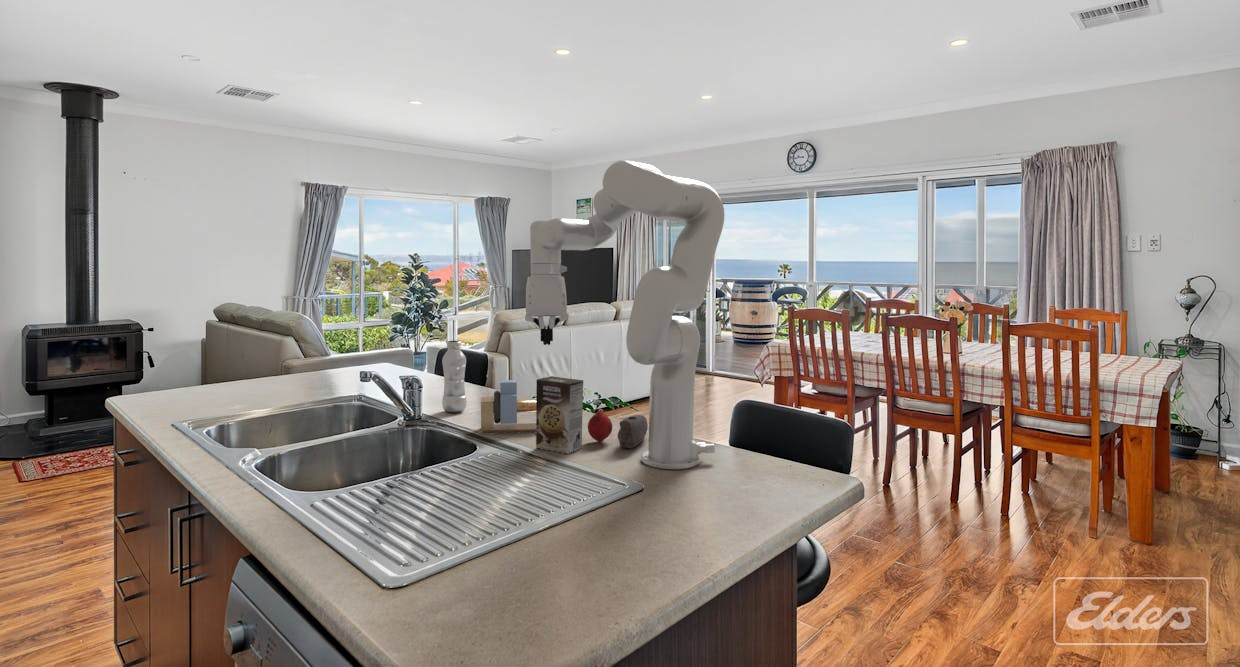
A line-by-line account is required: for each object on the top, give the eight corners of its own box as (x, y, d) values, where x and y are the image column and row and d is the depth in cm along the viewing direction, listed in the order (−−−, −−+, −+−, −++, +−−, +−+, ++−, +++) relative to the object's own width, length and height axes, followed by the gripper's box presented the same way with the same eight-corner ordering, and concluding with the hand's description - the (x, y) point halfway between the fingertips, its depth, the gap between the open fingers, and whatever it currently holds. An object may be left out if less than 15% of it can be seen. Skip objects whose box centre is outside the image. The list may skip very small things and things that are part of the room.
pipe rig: (548, 425, 176) (548, 395, 175) (550, 431, 170) (550, 400, 169) (481, 427, 173) (481, 397, 172) (481, 433, 167) (480, 402, 166)
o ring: (500, 418, 174) (500, 388, 173) (500, 425, 167) (500, 394, 166) (494, 418, 174) (494, 388, 173) (493, 426, 166) (493, 394, 165)
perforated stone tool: (634, 435, 168) (635, 407, 168) (654, 437, 167) (655, 409, 166) (612, 450, 154) (613, 420, 154) (634, 453, 153) (634, 423, 152)
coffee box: (534, 448, 155) (534, 379, 153) (550, 442, 160) (550, 375, 158) (568, 454, 150) (569, 383, 149) (583, 447, 156) (584, 379, 154)
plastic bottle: (440, 410, 191) (439, 340, 189) (464, 408, 194) (463, 339, 192) (444, 415, 186) (443, 343, 183) (469, 413, 188) (468, 342, 186)
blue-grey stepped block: (516, 416, 174) (516, 378, 173) (516, 423, 168) (516, 383, 167) (500, 417, 174) (500, 379, 173) (500, 423, 167) (500, 384, 166)
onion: (601, 447, 157) (601, 413, 156) (582, 442, 160) (582, 409, 160) (616, 441, 162) (617, 409, 161) (598, 437, 165) (598, 405, 164)
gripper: (574, 270, 173) (574, 342, 175) (515, 271, 170) (516, 343, 172) (577, 271, 166) (578, 345, 167) (515, 271, 163) (517, 346, 165)
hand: (546, 344), depth 170 cm, fingers closed
